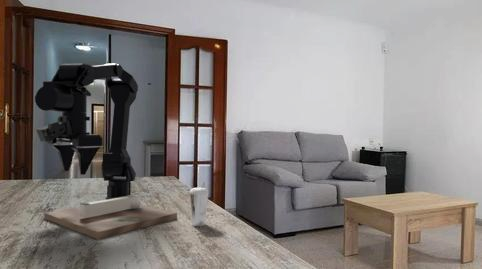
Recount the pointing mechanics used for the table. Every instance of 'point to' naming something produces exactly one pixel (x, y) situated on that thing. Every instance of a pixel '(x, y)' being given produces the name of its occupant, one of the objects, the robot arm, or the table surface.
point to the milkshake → (198, 205)
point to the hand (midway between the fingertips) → (74, 172)
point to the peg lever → (109, 206)
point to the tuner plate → (110, 220)
